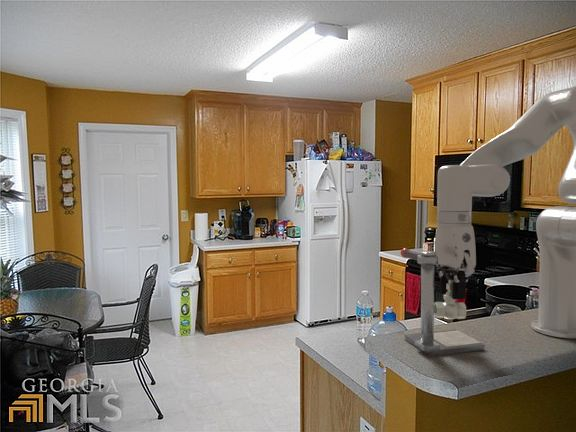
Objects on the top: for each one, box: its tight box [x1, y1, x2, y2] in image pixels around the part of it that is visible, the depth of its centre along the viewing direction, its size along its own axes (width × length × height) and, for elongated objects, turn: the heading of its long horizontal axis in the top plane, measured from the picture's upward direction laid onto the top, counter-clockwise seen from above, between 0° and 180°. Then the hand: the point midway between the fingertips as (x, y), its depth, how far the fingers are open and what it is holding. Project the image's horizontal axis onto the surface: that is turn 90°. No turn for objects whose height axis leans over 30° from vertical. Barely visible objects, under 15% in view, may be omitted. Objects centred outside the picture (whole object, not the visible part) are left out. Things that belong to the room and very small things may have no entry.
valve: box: [434, 267, 467, 320], centre depth 104 cm, size 7×7×12 cm
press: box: [404, 250, 485, 357], centre depth 104 cm, size 15×11×23 cm
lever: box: [400, 248, 438, 266], centre depth 103 cm, size 13×4×2 cm, turn 14°
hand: (452, 295), depth 104 cm, fingers closed on valve, 4 cm apart
